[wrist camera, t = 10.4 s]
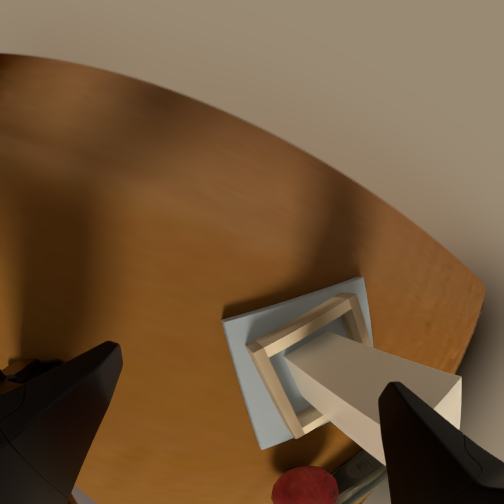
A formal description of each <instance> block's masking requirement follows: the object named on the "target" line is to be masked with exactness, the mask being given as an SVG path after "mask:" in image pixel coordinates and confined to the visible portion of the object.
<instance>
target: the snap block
mask: <svg viewBox="0 0 504 504" xmlns="http://www.w3.org/2000/svg"><path fill="white" fill-rule="evenodd" d="M284 358H285V360H286V362H287V365H288V367H289V369H290V371H291V374H292V376H293V378H294V380H295V382H296V385H297V387H298V389H299V391H300V393H301V395H302V396H303V397H304V398H305V399H306V400H307V401H308V402H309V403H310V404H311V405H313V406H314V407H315V408H316V409H317V410H318V411H319V412H320V413H322V414H323V415H324V416H325V417H326V418H327V419H328V420H330V421H331V422H332V423H333V424H334V425H335V426H337V427H338V428H339V429H340V430H341V431H342V432H344V433H345V434H346V435H347V436H348V437H350V438H351V439H352V440H353V441H355V442H356V443H357V444H358V445H359V446H361V447H362V448H363V449H364V450H366V451H367V452H368V453H369V454H371V455H372V456H373V457H375V458H376V459H377V460H378V461H380V462H381V463H382V464H384V465H385V466H386V462H385V457H384V451H383V445H382V439H381V431H380V419H379V409H378V398H379V396H380V394H381V393H382V391H383V390H384V388H385V387H386V385H387V384H388V383H389V382H392V381H399V382H401V383H402V384H404V385H405V386H406V387H407V388H408V389H410V390H411V391H412V392H413V393H415V394H416V395H417V396H418V397H419V398H421V399H422V400H423V401H424V402H425V403H427V404H428V405H429V406H430V407H432V408H433V409H434V410H435V411H436V412H438V413H439V414H440V415H441V416H442V417H444V418H445V419H446V420H447V421H449V422H450V423H451V424H452V425H453V426H455V427H456V428H457V429H458V430H459V428H460V416H461V377H460V376H456V375H453V374H450V373H447V372H444V371H440V370H437V369H434V368H431V367H428V366H425V365H422V364H419V363H416V362H413V361H410V360H407V359H404V358H401V357H398V356H395V355H392V354H389V353H386V352H383V351H381V350H378V349H375V348H372V347H369V346H367V345H364V344H361V343H358V342H356V341H353V340H350V339H348V338H345V337H342V336H340V335H337V334H334V333H332V332H329V331H326V332H325V333H323V334H321V335H320V336H318V337H317V338H315V339H313V340H312V341H310V342H308V343H306V344H305V345H303V346H301V347H300V348H298V349H296V350H294V351H293V352H291V353H289V354H287V355H285V356H284Z"/></svg>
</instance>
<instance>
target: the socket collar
mask: <svg viewBox="0 0 504 504" xmlns="http://www.w3.org/2000/svg"><path fill="white" fill-rule="evenodd" d="M339 316H341V319H342V322H343V325H344V328H345V331H346V334H347V337H348V339H350V340H353V341H356V342H358V343H361V344H364V345H367V346H369V347H372V344H371V341H370V337H369V334H368V330H367V327H366V323H365V320H364V317H363V313H362V310H361V307H360V304H359V301H358V297H357V294H353V293H345V292H341V293H339V294H337V295H336V296H334V297H332V298H331V299H329V300H327V301H326V302H324V303H322V304H320V305H319V306H317V307H315V308H313V309H312V310H310V311H308V312H306V313H305V314H303V315H301V316H299V317H297V318H296V319H294V320H292V321H290V322H288V323H286V324H285V325H283V326H281V327H279V328H277V329H275V330H273V331H271V332H269V333H268V334H266V335H264V336H262V337H260V338H258V339H256V340H254V341H252V342H250V343H248V344H246V345H245V347H246V349H247V351H248V353H249V355H250V357H251V359H252V361H253V363H254V365H255V367H256V369H257V371H258V373H259V375H260V377H261V379H262V381H263V383H264V385H265V387H266V389H267V391H268V393H269V395H270V397H271V399H272V401H273V403H274V405H275V407H276V409H277V411H278V413H279V415H280V417H281V419H282V421H283V422H284V424H285V426H286V428H287V429H288V430H289V432H290V433H291V434H292V435H293V436H294V438H295V439H298V438H300V437H301V436H303V435H305V434H306V433H308V432H310V431H312V430H313V429H315V428H316V427H318V426H320V425H321V424H323V423H324V422H326V421H327V420H328V419H327V418H326V417H325V416H324V415H323V414H322V413H320V412H319V411H318V410H317V409H316V408H315V407H314V406H313V405H311V406H309V407H307V408H306V409H304V410H302V411H301V412H299V413H297V414H296V415H295V413H294V411H293V409H292V407H291V405H290V402H289V400H288V398H287V396H286V394H285V392H284V390H283V388H282V386H281V383H280V381H279V379H278V377H277V375H276V373H275V371H274V369H273V366H272V364H271V362H270V360H269V357H271V356H273V355H274V354H276V353H278V352H280V351H282V350H284V349H285V348H287V347H289V346H291V345H293V344H294V343H296V342H298V341H300V340H301V339H303V338H305V337H307V336H308V335H310V334H312V333H313V332H315V331H317V330H318V329H320V328H322V327H323V326H325V325H327V324H328V323H330V322H331V321H333V320H335V319H336V318H338V317H339Z"/></svg>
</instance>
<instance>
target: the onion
mask: <svg viewBox="0 0 504 504" xmlns="http://www.w3.org/2000/svg"><path fill="white" fill-rule="evenodd" d="M271 498H272V501H273V503H274V504H336V503H337V500H338V487H337V483H336V480H335V478H334V477H333V475H331V474H330V473H328V472H327V471H325V470H324V469H322V468H320V467H315V466H302V467H297V468H293V469H291V470H288V471H286V472H285V473H284V474H283V475H282V476H281V477H280V478H279V479H278V480H277V482H276V483H275V484H274V486H273V490H272V497H271Z"/></svg>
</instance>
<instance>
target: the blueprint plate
mask: <svg viewBox="0 0 504 504" xmlns="http://www.w3.org/2000/svg"><path fill="white" fill-rule="evenodd" d="M341 292H345V293H353V294H357V297H358V301H359V304H360V307H361V310H362V313H363V317H364V320H365V323H366V327H367V330H368V334H369V337H370V341H371V344H372V348H373V339H372V330H371V322H370V315H369V308H368V301H367V294H366V288H365V282H364V277H355V278H352V279H350V280H347V281H344V282H341V283H338V284H335V285H332V286H330V287H327V288H324V289H321V290H318V291H315V292H312V293H309V294H306V295H302V296H299V297H296V298H293V299H290V300H287V301H284V302H280V303H277V304H274V305H271V306H267V307H264V308H261V309H257V310H254V311H250V312H247V313H243V314H240V315H236V316H233V317H229V318H226V319H222V320H221V321H222V325H223V328H224V332H225V336H226V339H227V343H228V347H229V350H230V354H231V357H232V361H233V364H234V368H235V371H236V375H237V378H238V382H239V385H240V388H241V392H242V395H243V398H244V401H245V405H246V408H247V411H248V414H249V417H250V420H251V424H252V427H253V430H254V433H255V436H256V439H257V442H258V444H259V446H260V448H261V450H263V449H266V448H269V447H272V446H274V445H277V444H280V443H282V442H285V441H287V440H290V439H292V438H294V436H293V435H292V434H291V433H290V432H289V430H288V429H287V428H286V426H285V424H284V422H283V421H282V419H281V417H280V415H279V413H278V411H277V409H276V407H275V405H274V403H273V401H272V399H271V397H270V395H269V393H268V391H267V389H266V387H265V385H264V383H263V381H262V379H261V377H260V375H259V373H258V371H257V369H256V367H255V365H254V363H253V361H252V359H251V357H250V355H249V353H248V351H247V349H246V347H245V345H246V344H248V343H250V342H252V341H254V340H256V339H258V338H260V337H262V336H264V335H266V334H268V333H269V332H271V331H273V330H275V329H277V328H279V327H281V326H283V325H285V324H286V323H288V322H290V321H292V320H294V319H296V318H297V317H299V316H301V315H303V314H305V313H306V312H308V311H310V310H312V309H313V308H315V307H317V306H319V305H320V304H322V303H324V302H326V301H327V300H329V299H331V298H332V297H334V296H336V295H337V294H339V293H341ZM326 331H329V332H332V333H334V334H337V335H340V336H342V337H345V338H348V337H347V334H346V331H345V328H344V325H343V322H342V319H341V316H339V317H338V318H336V319H335V320H333V321H331V322H330V323H328V324H327V325H325V326H323V327H322V328H320V329H318V330H317V331H315V332H313V333H312V334H310V335H308V336H307V337H305V338H303V339H301V340H300V341H298V342H296V343H294V344H293V345H291V346H289V347H287V348H285V349H284V350H282V351H280V352H278V353H276V354H274V355H273V356H271V357H269V360H270V362H271V364H272V366H273V369H274V371H275V373H276V375H277V377H278V379H279V381H280V383H281V386H282V388H283V390H284V392H285V394H286V396H287V398H288V400H289V402H290V405H291V407H292V409H293V411H294V413H295V415H296V414H297V413H299V412H301V411H302V410H304V409H306V408H307V407H309V406H311V404H310V403H309V402H308V401H307V400H306V399H305V398H304V397H303V396H302V395H301V393H300V391H299V389H298V387H297V385H296V382H295V380H294V378H293V376H292V374H291V371H290V369H289V367H288V365H287V362H286V360H285V358H284V356H285V355H287V354H289V353H291V352H293V351H294V350H296V349H298V348H300V347H301V346H303V345H305V344H306V343H308V342H310V341H312V340H313V339H315V338H317V337H318V336H320V335H321V334H323V333H325V332H326ZM328 422H330V420H327V421H326V422H324V423H323V424H321V425H324V424H326V423H328ZM321 425H320V426H321ZM318 427H319V426H318ZM316 428H317V427H316Z"/></svg>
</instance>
